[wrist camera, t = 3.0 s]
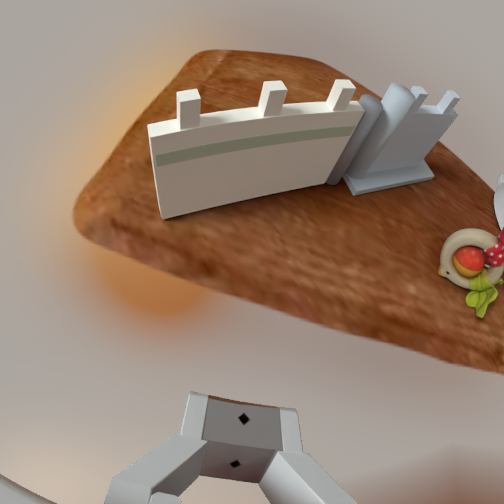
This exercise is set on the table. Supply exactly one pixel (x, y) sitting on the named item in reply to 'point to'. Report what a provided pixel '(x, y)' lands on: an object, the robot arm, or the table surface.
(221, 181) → the fence panel
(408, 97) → the grey toy wall
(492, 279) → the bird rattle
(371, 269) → the table surface
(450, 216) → the table surface
